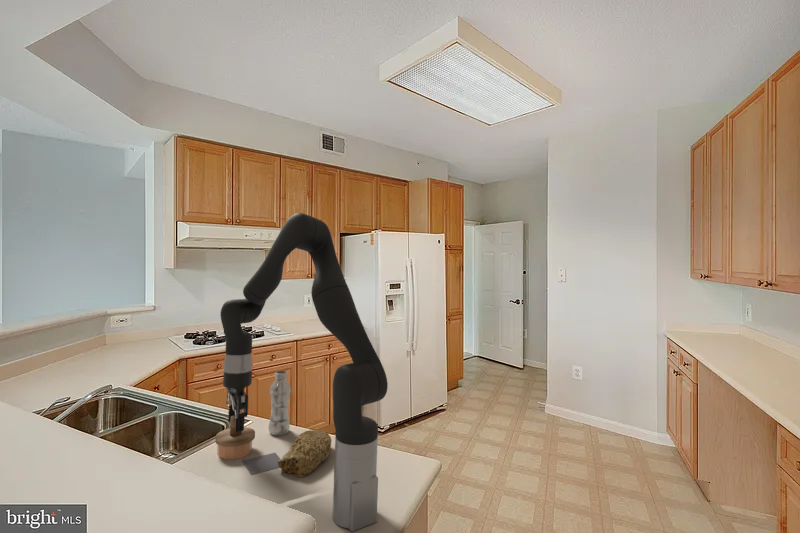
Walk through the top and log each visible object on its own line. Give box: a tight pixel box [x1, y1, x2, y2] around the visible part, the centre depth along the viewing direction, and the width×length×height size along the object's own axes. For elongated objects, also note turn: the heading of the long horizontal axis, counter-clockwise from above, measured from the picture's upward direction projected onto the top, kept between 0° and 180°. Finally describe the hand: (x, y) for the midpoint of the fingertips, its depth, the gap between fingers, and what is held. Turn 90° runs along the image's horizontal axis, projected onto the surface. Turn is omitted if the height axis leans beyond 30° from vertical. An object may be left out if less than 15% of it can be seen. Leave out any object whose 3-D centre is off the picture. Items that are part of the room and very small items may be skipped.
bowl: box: [216, 440, 253, 460], centre depth 112 cm, size 9×9×4 cm
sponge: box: [278, 429, 332, 478], centre depth 109 cm, size 13×8×20 cm
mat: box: [241, 452, 281, 476], centre depth 106 cm, size 9×9×1 cm
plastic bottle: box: [268, 370, 291, 437], centre depth 126 cm, size 6×7×20 cm
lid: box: [214, 415, 256, 447], centre depth 112 cm, size 10×10×6 cm
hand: (235, 425), depth 112 cm, fingers open, 8 cm apart
